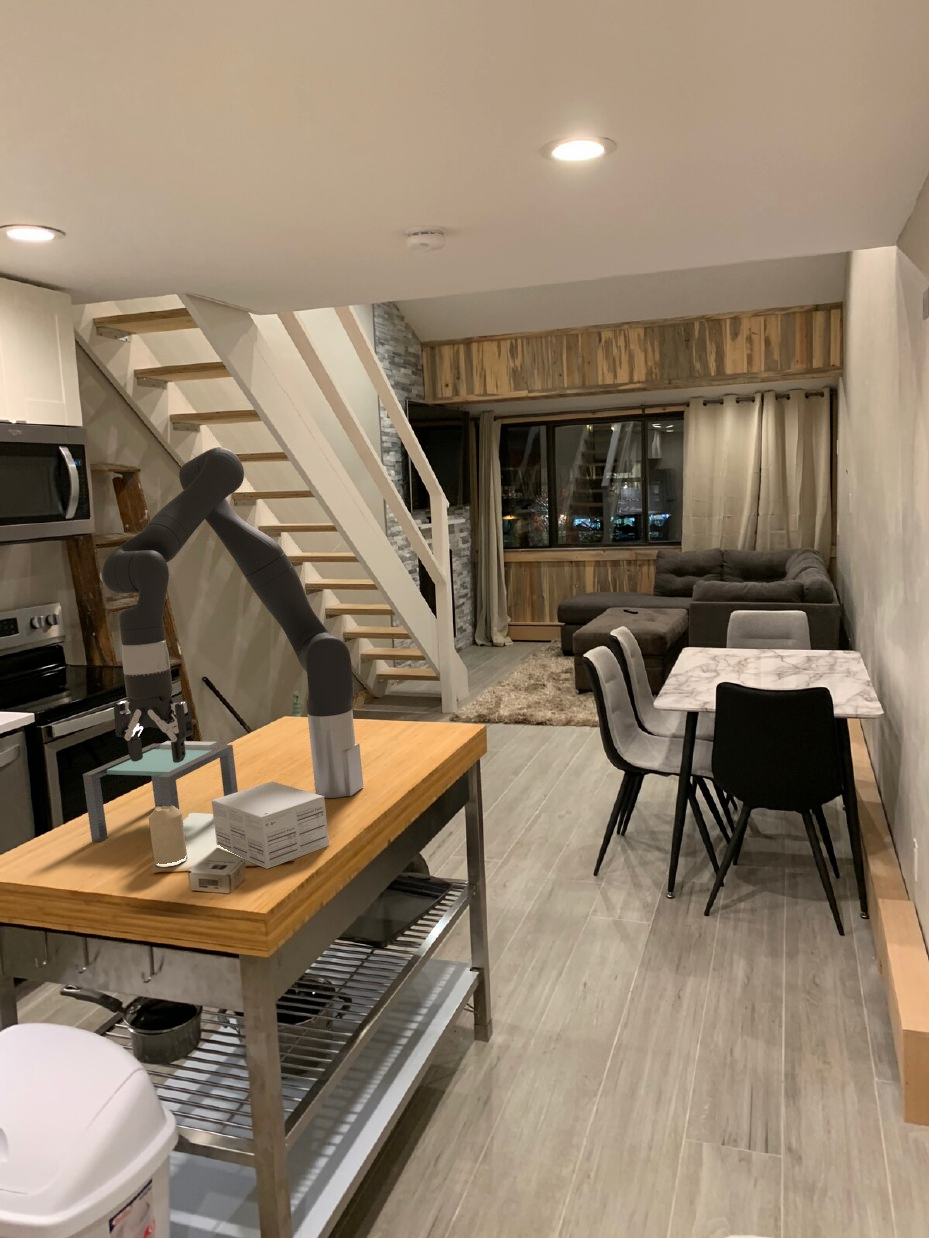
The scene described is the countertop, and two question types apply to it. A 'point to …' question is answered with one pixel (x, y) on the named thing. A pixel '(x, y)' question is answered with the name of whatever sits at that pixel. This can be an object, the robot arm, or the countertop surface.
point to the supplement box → (270, 823)
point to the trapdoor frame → (155, 784)
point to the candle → (167, 835)
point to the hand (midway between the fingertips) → (157, 760)
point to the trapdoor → (162, 759)
